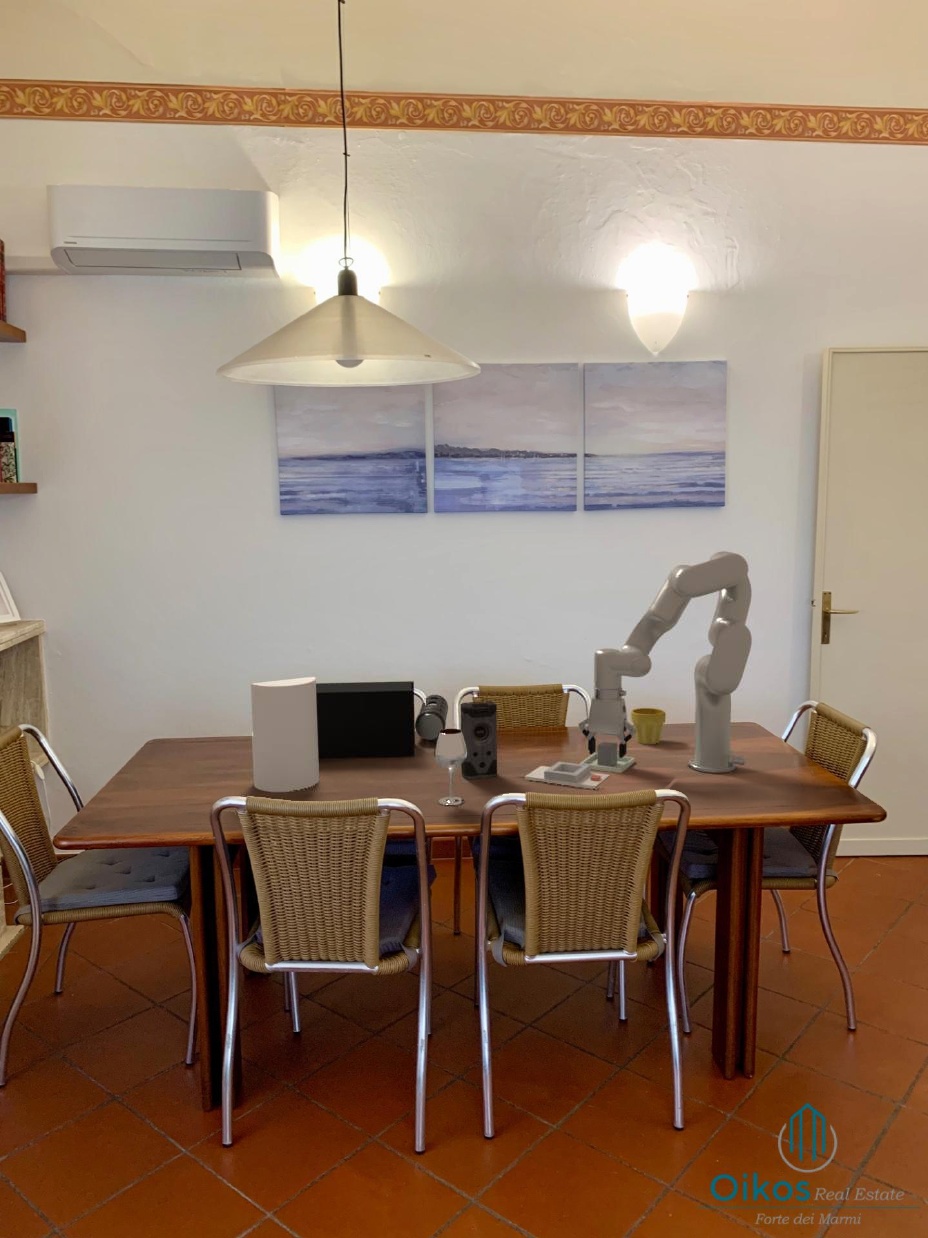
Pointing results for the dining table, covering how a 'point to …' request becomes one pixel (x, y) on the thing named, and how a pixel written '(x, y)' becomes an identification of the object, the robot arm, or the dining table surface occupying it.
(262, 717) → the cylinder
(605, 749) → the plug
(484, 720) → the electronic device
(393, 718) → the uninterruptible power supply
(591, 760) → the tray
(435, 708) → the muzzle brake
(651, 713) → the plant pot
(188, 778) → the dining table surface
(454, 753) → the wineglass
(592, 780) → the plate with square socket
